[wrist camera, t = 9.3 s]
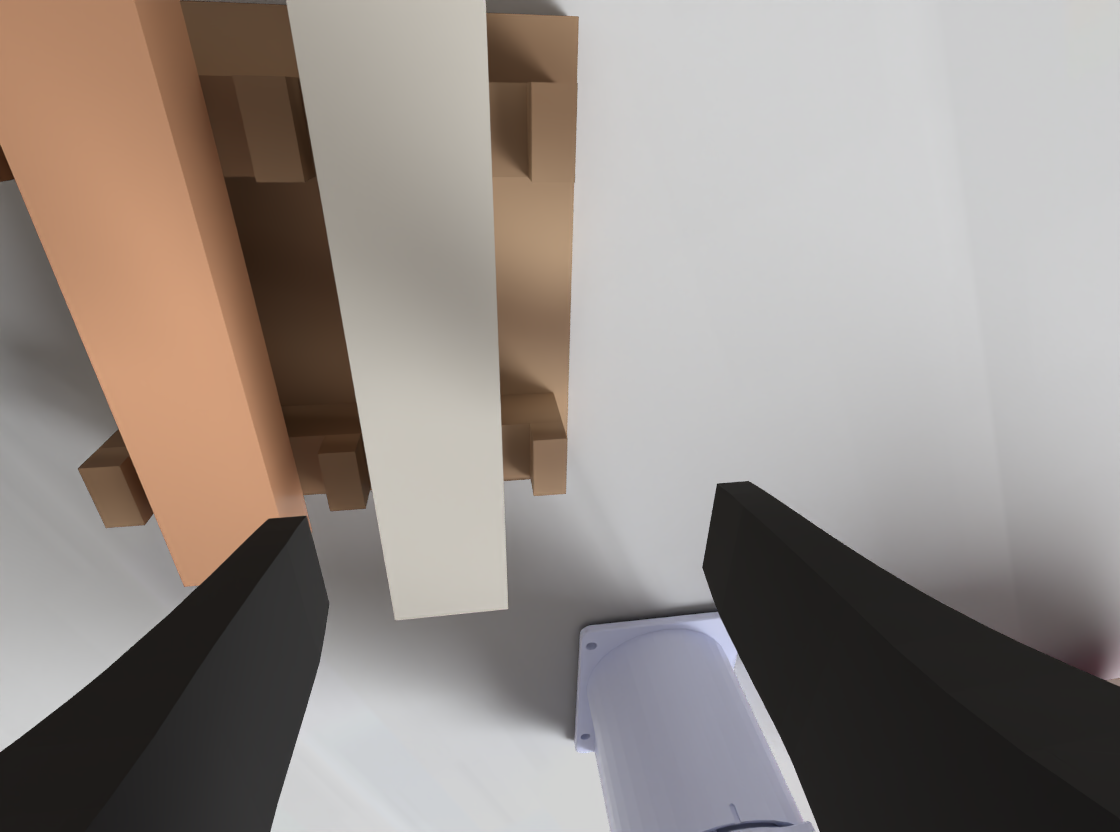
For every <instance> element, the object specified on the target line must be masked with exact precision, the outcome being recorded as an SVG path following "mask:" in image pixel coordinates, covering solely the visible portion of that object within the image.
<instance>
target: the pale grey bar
mask: <svg viewBox="0 0 1120 832" xmlns="http://www.w3.org/2000/svg"><path fill="white" fill-rule="evenodd" d="M286 3H287V9H288V15H289V20H290V26H291V32H292V37H293V43H294V49H295V54H296V60H297V66H298V71H299V77H300V83H301V89H302V94H303V100H304V106H305V111H306V117H307V123H308V128H309V134H310V140H311V145H312V151H313V157H314V162H315V168H316V174H317V180H318V185H319V191H320V197H321V202H322V208H323V214H324V219H325V225H326V231H327V236H328V242H329V248H330V254H331V259H332V265H333V271H334V276H335V282H336V288H337V293H338V299H339V305H340V310H341V316H342V322H343V327H344V333H345V339H346V345H347V350H348V356H349V362H350V367H351V373H352V379H353V384H354V390H355V396H356V401H357V407H358V413H359V418H360V424H361V430H362V436H363V441H364V447H365V453H366V458H367V464H368V470H369V475H370V481H371V487H372V492H373V498H374V504H375V510H376V515H377V521H378V527H379V532H380V538H381V544H382V549H383V555H384V561H385V566H386V572H387V578H388V583H389V589H390V595H391V601H392V606H393V612H394V618H395V621H396V620H405V619H415V618H425V617H435V616H445V615H455V614H465V613H475V612H485V611H495V610H505V609H508V590H507V563H506V536H505V509H504V482H503V455H502V428H501V401H500V374H499V347H498V320H497V293H496V266H495V239H494V212H493V185H492V158H491V131H490V104H489V77H488V50H487V23H486V0H286Z"/></svg>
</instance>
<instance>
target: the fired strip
mask: <svg viewBox="0 0 1120 832" xmlns="http://www.w3.org/2000/svg"><path fill="white" fill-rule="evenodd" d="M0 145H1V147H2V149H3V152H4V154H5V157H6V159H7V161H8V164H9V166H10V169H11V171H12V174H13V176H14V178H15V181H16V183H17V186H18V188H19V190H20V193H21V195H22V198H23V200H24V202H25V205H26V207H27V210H28V212H29V214H30V217H31V219H32V222H33V224H34V226H35V229H36V231H37V234H38V236H39V238H40V241H41V243H42V246H43V248H44V250H45V253H46V255H47V258H48V260H49V263H50V265H51V267H52V270H53V272H54V275H55V277H56V279H57V282H58V284H59V287H60V289H61V291H62V294H63V296H64V299H65V301H66V303H67V306H68V308H69V311H70V313H71V315H72V318H73V320H74V323H75V325H76V327H77V330H78V332H79V335H80V337H81V339H82V342H83V344H84V347H85V349H86V351H87V354H88V356H89V359H90V361H91V364H92V366H93V368H94V371H95V373H96V376H97V378H98V380H99V383H100V385H101V388H102V390H103V392H104V395H105V397H106V400H107V402H108V404H109V407H110V409H111V412H112V414H113V416H114V419H115V421H116V424H117V426H118V428H119V431H120V433H121V436H122V438H123V440H124V443H125V445H126V448H127V450H128V452H129V455H130V457H131V460H132V462H133V465H134V467H135V469H136V472H137V474H138V477H139V479H140V481H141V484H142V486H143V489H144V491H145V493H146V496H147V498H148V501H149V503H150V505H151V508H152V510H153V513H154V515H155V517H156V520H157V522H158V525H159V527H160V529H161V532H162V534H163V537H164V539H165V541H166V544H167V546H168V549H169V551H170V554H171V556H172V558H173V561H174V563H175V566H176V568H177V570H178V573H179V575H180V578H181V580H182V582H183V585H184V587H187V586H198V585H200V584H201V583H202V582H204V581H205V580H206V579H207V578H208V577H209V576H210V575H211V574H212V573H213V572H214V571H215V570H216V569H217V568H218V567H219V566H220V565H221V564H222V563H223V562H224V561H225V560H226V559H227V558H228V557H229V556H230V555H231V554H232V553H233V552H234V551H235V550H236V549H237V548H238V547H239V546H240V545H241V544H242V543H243V542H244V541H245V540H247V539H248V538H249V537H250V536H251V535H252V534H253V533H254V532H255V531H256V530H257V529H258V528H259V527H260V526H261V525H262V524H263V523H264V522H265V521H266V520H268V519H269V518H282V517H295V516H307V518H308V522H309V526H310V530H311V533H312V528H311V524H310V520H309V516H308V512H307V508H306V504H305V500H304V496H303V492H302V488H301V484H300V480H299V476H298V472H297V468H296V464H295V460H294V456H293V452H292V448H291V444H290V440H289V436H288V432H287V428H286V424H285V420H284V416H283V412H282V408H281V404H280V400H279V396H278V392H277V388H276V384H275V380H274V376H273V372H272V368H271V364H270V360H269V356H268V352H267V348H266V344H265V340H264V336H263V332H262V328H261V324H260V320H259V316H258V312H257V308H256V304H255V300H254V296H253V292H252V288H251V284H250V280H249V276H248V272H247V268H246V264H245V260H244V256H243V252H242V248H241V244H240V240H239V236H238V232H237V228H236V224H235V220H234V216H233V212H232V208H231V204H230V200H229V196H228V192H227V188H226V184H225V180H224V176H223V172H222V168H221V164H220V160H219V156H218V152H217V148H216V144H215V140H214V136H213V132H212V128H211V124H210V120H209V116H208V112H207V108H206V104H205V100H204V96H203V92H202V88H201V84H200V80H199V76H198V72H197V68H196V64H195V60H194V56H193V52H192V48H191V44H190V40H189V36H188V32H187V28H186V24H185V20H184V16H183V12H182V8H181V4H180V0H0Z"/></svg>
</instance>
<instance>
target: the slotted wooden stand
mask: <svg viewBox="0 0 1120 832" xmlns="http://www.w3.org/2000/svg"><path fill="white" fill-rule="evenodd" d="M180 4H181V8H182V12H183V16H184V20H185V24H186V28H187V32H188V36H189V40H190V44H191V48H192V52H193V56H194V60H195V64H196V68H197V72H198V76H199V80H200V84H201V88H202V92H203V96H204V100H205V104H206V108H207V112H208V116H209V120H210V124H211V128H212V132H213V136H214V140H215V144H216V148H217V152H218V156H219V160H220V164H221V168H222V172H223V176H224V180H225V184H226V188H227V192H228V196H229V200H230V204H231V208H232V212H233V216H234V220H235V224H236V228H237V232H238V236H239V240H240V244H241V248H242V252H243V256H244V260H245V264H246V268H247V272H248V276H249V280H250V284H251V288H252V292H253V296H254V300H255V304H256V308H257V312H258V316H259V320H260V324H261V328H262V332H263V336H264V340H265V344H266V348H267V352H268V356H269V360H270V364H271V368H272V372H273V376H274V380H275V384H276V388H277V392H278V396H279V400H280V404H281V408H282V412H283V416H284V420H285V424H286V428H287V432H288V436H289V440H290V444H291V448H292V452H293V456H294V460H295V464H296V468H297V472H298V476H299V480H300V484H301V488H302V492H303V495H311V494H326V495H327V499H328V504H329V508H330V511H340V510H354V509H366V504H367V500H368V496H369V492H370V490H372V487H371V481H370V475H369V470H368V464H367V458H366V453H365V447H364V441H363V436H362V430H361V424H360V418H359V413H358V407H357V401H356V396H355V390H354V384H353V379H352V373H351V367H350V362H349V356H348V350H347V345H346V339H345V333H344V327H343V322H342V316H341V310H340V305H339V299H338V293H337V288H336V282H335V276H334V271H333V265H332V259H331V254H330V248H329V242H328V236H327V231H326V225H325V219H324V214H323V208H322V202H321V197H320V191H319V185H318V180H317V174H316V168H315V162H314V157H313V151H312V145H311V140H310V134H309V128H308V123H307V117H306V111H305V106H304V100H303V94H302V89H301V83H300V77H299V71H298V66H297V60H296V54H295V49H294V43H293V37H292V32H291V26H290V20H289V15H288V9H287V5H279V4H255V3H230V2H205V1H180ZM578 21H579V17H578V16H554V15H529V14H504V13H486V23H487V50H488V77H489V104H490V131H491V158H492V185H493V212H494V239H495V266H496V293H497V320H498V347H499V374H500V401H501V428H502V455H503V481H510V480H525V479H531V483H532V489H533V495H534V496H542V495H555V494H566V471H567V415H568V380H569V344H570V308H571V272H572V236H573V200H574V182H575V155H576V119H577V84H578V83H577V57H578ZM13 179H15V178H14V176H13V174H12V171H11V169H10V166H9V164H8V161H7V159H6V157H5V154H4V152H3V149H2V147H1V145H0V182H2V181H7V180H13ZM78 470H79V472H80V474H81V476H82V478H83V481H84V483H85V485H86V487H87V489H88V491H89V493H90V495H91V497H92V500H93V502H94V504H95V506H96V508H97V510H98V512H99V514H100V516H101V518H102V521H103V523H104V525H105V527H106V528H112V527H125V526H139V525H145V524H146V523H147V522H148V520H149V519H150V518H151V516H152V515H153V510H152V508H151V505H150V503H149V501H148V498H147V496H146V493H145V491H144V489H143V486H142V484H141V481H140V479H139V477H138V474H137V472H136V469H135V467H134V465H133V462H132V460H131V457H130V455H129V452H128V450H127V448H126V445H125V443H124V440H123V438H122V436H121V433H120V431H119V429H118V430H117V431H116V432H115V433H114V434H113V435H112V436H111V437H110V438H109V439H108V440H107V441H106V442H105V443H104V444H103V445H102V446H101V447H100V448H99V449H98V450H97V451H96V452H95V453H93V454H92V455H91V456H90V457H89V458H88V459H87V460H86V461H85V462H84V463H83V464H82V465H81V466H80V467H79V468H78Z"/></svg>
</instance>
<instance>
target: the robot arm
mask: <svg viewBox="0 0 1120 832" xmlns="http://www.w3.org/2000/svg"><path fill="white" fill-rule="evenodd" d="M702 568H703V571H704V574H705V577H706V580H707V582H708V585H709V588H710V591H711V594H712V597H713V600H714V602H715V605H716V608H717V610H718V612H710V613H701V614H691V615H682V616H672V617H663V618H654V619H644V620H635V621H626V622H616V623H607V624H597V625H590V626H586V627H585V628H583V629H582V630H581V632H580V642H579V661H578V681H577V701H576V720H575V740H574V744H575V749H576V751H577V752H579V753H587V752H595V755H596V760H597V765H598V770H599V775H600V780H601V785H602V791H603V796H604V801H605V806H606V811H607V816H608V821H609V826H610V831H611V832H815V830H814V828H813V826H812V824H811V822H809V821H807V822H804V820H803V817H802V815H801V813H800V811H799V809H798V807H797V805H796V802H795V800H794V798H793V796H792V794H791V792H790V790H789V788H788V785H787V783H786V781H785V779H784V777H783V775H782V773H781V770H780V768H779V766H778V764H777V762H776V760H775V758H774V756H773V753H772V751H771V749H770V747H769V745H768V743H767V741H766V738H765V736H764V734H763V732H762V730H761V728H760V726H759V724H758V721H757V719H756V717H755V715H754V713H753V711H752V709H751V706H750V704H749V702H748V700H747V698H746V696H745V694H744V692H743V689H742V687H741V685H740V683H739V681H738V679H737V677H736V674H735V672H734V670H733V669H734V665H735V661H736V657H737V653H738V654H739V656H740V658H741V660H742V662H743V664H744V666H745V668H746V670H747V672H748V674H749V676H750V678H751V680H752V682H753V684H754V686H755V688H756V690H757V692H758V694H759V696H760V697H761V699H762V701H763V703H764V705H765V707H766V709H767V711H768V713H769V715H770V717H771V719H772V721H773V723H774V725H775V727H776V729H777V731H778V733H779V735H780V737H781V739H782V741H783V743H784V745H785V748H786V750H787V752H788V754H789V756H790V758H791V761H792V763H793V765H794V768H795V770H796V773H797V775H798V778H799V780H800V783H801V785H802V788H803V790H804V793H805V795H806V798H807V800H808V803H809V805H810V808H811V810H812V813H813V815H814V818H815V820H816V823H817V826H818V828H819V831H820V832H1120V686H1118V685H1115V684H1113V683H1110V682H1108V681H1106V680H1103V679H1101V678H1098V677H1096V676H1094V675H1091V674H1089V673H1086V672H1084V671H1082V670H1079V669H1077V668H1075V667H1073V666H1070V665H1068V664H1066V663H1064V662H1061V661H1059V660H1057V659H1055V658H1053V657H1050V656H1048V655H1046V654H1044V653H1042V652H1039V651H1037V650H1035V649H1033V648H1030V647H1028V646H1026V645H1024V644H1022V643H1020V642H1017V641H1015V640H1013V639H1011V638H1009V637H1007V636H1005V635H1003V634H1001V633H999V632H997V631H995V630H993V629H991V628H989V627H987V626H985V625H983V624H981V623H979V622H977V621H975V620H973V619H971V618H969V617H967V616H966V615H964V614H962V613H960V612H958V611H956V610H954V609H952V608H950V607H948V606H946V605H944V604H943V603H941V602H939V601H937V600H935V599H933V598H932V597H930V596H928V595H926V594H924V593H923V592H921V591H919V590H917V589H916V588H914V587H912V586H911V585H909V584H907V583H906V582H904V581H902V580H901V579H899V578H897V577H896V576H894V575H892V574H891V573H889V572H887V571H886V570H884V569H882V568H881V567H879V566H877V565H876V564H874V563H872V562H871V561H869V560H868V559H866V558H865V557H863V556H861V555H860V554H858V553H857V552H855V551H854V550H852V549H850V548H849V547H847V546H846V545H844V544H843V543H841V542H840V541H838V540H837V539H835V538H834V537H832V536H831V535H829V534H828V533H826V532H825V531H823V530H822V529H820V528H819V527H817V526H816V525H814V524H813V523H811V522H810V521H808V520H807V519H805V518H804V517H802V516H801V515H800V514H798V513H797V512H795V511H794V510H792V509H791V508H789V507H788V506H786V505H785V504H783V503H782V502H780V501H779V500H777V499H776V498H774V497H773V496H771V495H770V494H768V493H767V492H765V491H764V490H762V489H761V488H759V487H757V486H756V485H754V484H752V483H751V482H749V481H745V482H732V483H719V484H717V487H716V493H715V498H714V504H713V510H712V516H711V521H710V527H709V533H708V538H707V544H706V550H705V556H704V561H703V567H702ZM328 609H329V601H328V597H327V593H326V589H325V585H324V581H323V577H322V573H321V569H320V565H319V561H318V558H317V554H316V550H315V546H314V542H313V538H312V534H311V530H310V526H309V522H308V518H307V516H295V517H282V518H269V519H268V520H266V521H265V522H264V523H263V524H262V525H261V526H260V527H259V528H258V529H257V530H256V531H255V532H254V533H253V534H252V535H251V536H250V537H249V538H248V539H247V540H245V541H244V542H243V543H242V544H241V545H240V546H239V547H238V548H237V549H236V550H235V551H234V552H233V553H232V554H231V555H230V556H229V557H228V558H227V559H226V560H225V561H224V562H223V563H222V564H221V565H220V566H219V567H218V568H217V569H216V570H215V571H214V572H213V573H212V574H211V575H210V576H209V577H208V578H207V579H206V580H205V581H204V582H202V583H201V584H200V585H199V586H198V587H197V588H196V589H195V590H194V591H193V592H192V593H191V594H190V595H189V596H188V597H187V598H186V599H185V600H184V601H183V602H182V603H180V604H179V605H178V606H177V607H176V608H175V609H174V610H173V611H172V612H171V613H170V614H169V615H168V616H166V617H165V618H164V619H163V620H162V621H161V622H160V623H159V624H157V625H156V626H155V627H154V628H153V629H152V630H151V631H149V632H148V633H147V634H146V635H145V636H144V637H143V638H141V639H140V640H139V641H138V642H137V643H136V644H135V645H134V646H132V647H131V648H130V649H129V650H128V651H127V652H126V653H124V654H123V655H122V656H121V657H120V658H119V659H118V660H117V661H115V662H114V663H113V664H112V665H111V666H110V667H109V668H107V669H106V670H105V671H104V672H103V673H101V674H100V675H99V676H98V677H97V678H95V679H94V680H93V681H92V682H91V683H89V684H88V685H87V686H86V687H84V688H83V689H82V690H81V691H79V692H78V693H77V694H76V695H74V696H73V697H72V698H71V699H69V700H68V701H67V702H66V703H64V704H63V705H62V706H61V707H59V708H58V709H57V710H55V711H54V712H53V713H51V714H50V715H49V716H48V717H46V718H45V719H44V720H42V721H41V722H40V723H38V724H37V725H36V726H35V727H33V728H32V729H31V730H29V731H28V732H27V733H25V734H24V735H23V736H22V737H20V738H19V739H17V740H16V741H15V742H13V743H12V744H11V745H9V746H8V747H7V748H5V749H4V750H3V751H1V752H0V832H270V831H271V827H272V823H273V819H274V815H275V811H276V808H277V804H278V800H279V797H280V794H281V790H282V787H283V784H284V780H285V777H286V774H287V770H288V767H289V764H290V760H291V757H292V754H293V750H294V747H295V744H296V740H297V737H298V734H299V731H300V727H301V724H302V721H303V717H304V714H305V711H306V707H307V704H308V700H309V697H310V694H311V690H312V687H313V683H314V680H315V677H316V673H317V669H318V666H319V662H320V657H321V652H322V646H323V641H324V635H325V628H326V622H327V616H328ZM591 642H592V643H591Z"/></svg>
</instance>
